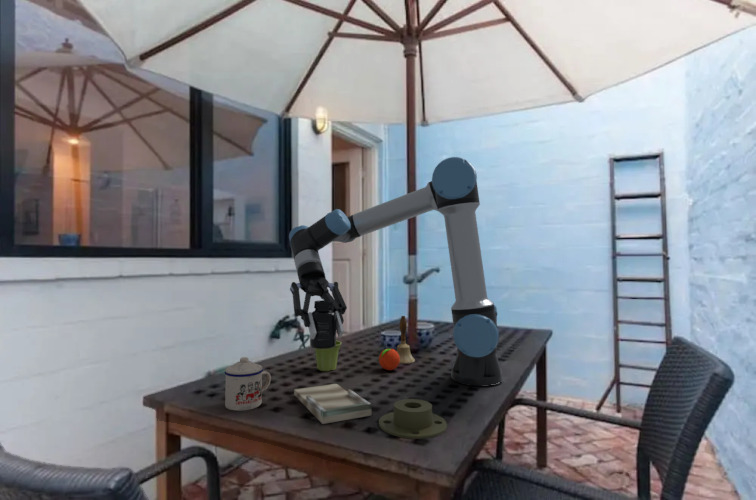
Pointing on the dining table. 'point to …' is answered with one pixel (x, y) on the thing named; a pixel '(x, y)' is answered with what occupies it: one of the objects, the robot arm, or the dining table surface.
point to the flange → (412, 420)
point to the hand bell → (404, 345)
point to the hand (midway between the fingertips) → (327, 335)
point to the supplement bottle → (324, 325)
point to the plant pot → (327, 357)
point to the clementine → (389, 359)
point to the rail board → (333, 403)
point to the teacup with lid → (244, 385)
